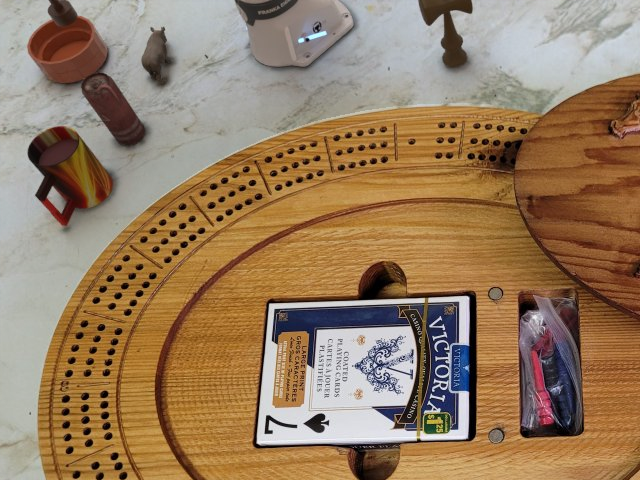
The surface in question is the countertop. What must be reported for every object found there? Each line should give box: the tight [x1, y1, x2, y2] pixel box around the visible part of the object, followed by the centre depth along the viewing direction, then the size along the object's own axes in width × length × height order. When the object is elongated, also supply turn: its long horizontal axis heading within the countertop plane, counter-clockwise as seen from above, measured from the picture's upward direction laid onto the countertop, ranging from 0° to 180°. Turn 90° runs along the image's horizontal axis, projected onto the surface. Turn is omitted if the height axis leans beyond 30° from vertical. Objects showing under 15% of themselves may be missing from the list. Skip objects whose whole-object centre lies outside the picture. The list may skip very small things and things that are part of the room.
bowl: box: [26, 15, 109, 84], centre depth 174 cm, size 14×14×6 cm
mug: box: [27, 125, 114, 227], centre depth 154 cm, size 10×14×12 cm
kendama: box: [417, 0, 474, 68], centre depth 159 cm, size 6×10×20 cm, turn 110°
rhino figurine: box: [140, 26, 173, 85], centre depth 172 cm, size 4×14×6 cm, turn 1°
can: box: [80, 71, 146, 147], centre depth 160 cm, size 6×6×14 cm
